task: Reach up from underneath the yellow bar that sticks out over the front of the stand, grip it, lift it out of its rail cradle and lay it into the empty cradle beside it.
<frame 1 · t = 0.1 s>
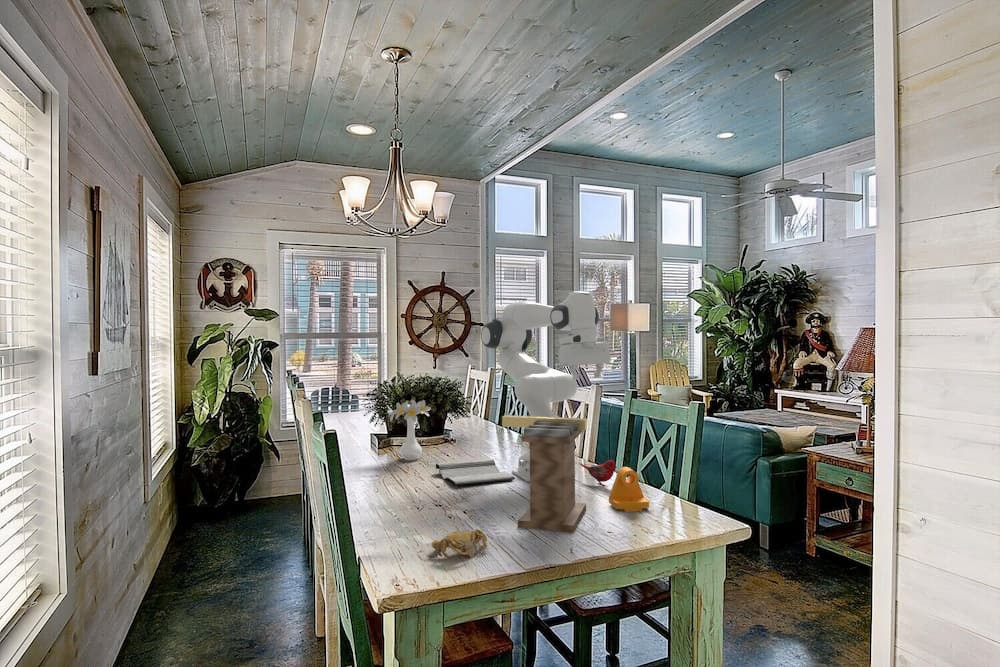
hand: (587, 378, 208), 39 cm above the table, fingers open, 8 cm apart
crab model: (457, 552, 157), on the table
stand: (553, 518, 182), on the table
bracket: (629, 508, 192), on the table
decorative bird figurine: (597, 485, 218), on the table
mat: (474, 478, 230), on the table
flower vase: (409, 459, 260), on the table
yellow bar: (544, 427, 188), point 26 cm above the table, touching stand
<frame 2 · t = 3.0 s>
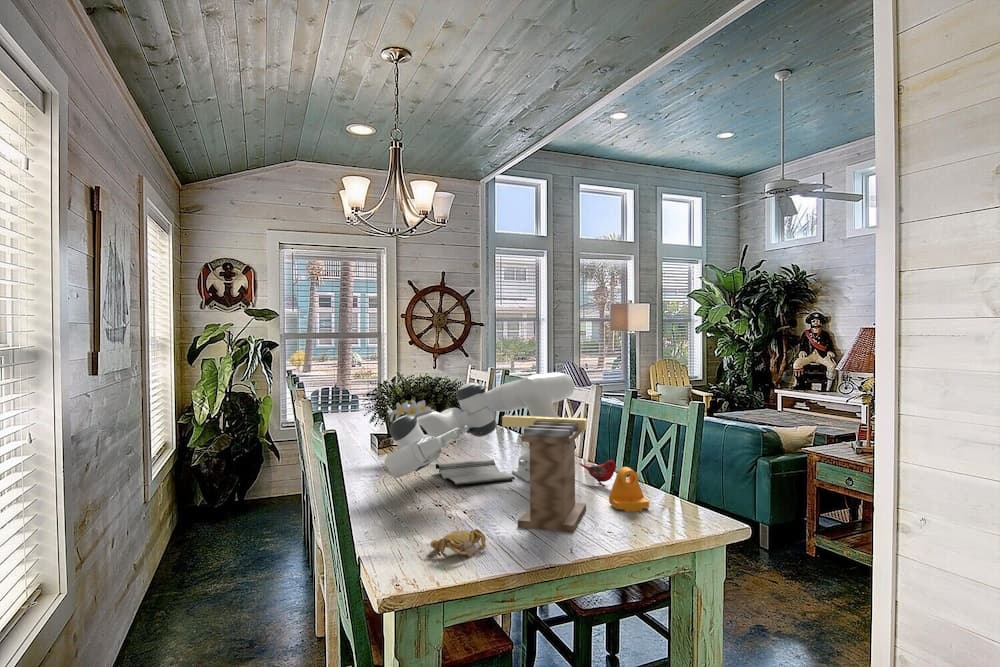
hand: (462, 430, 196), 24 cm above the table, fingers open, 8 cm apart
nothing on the table moved.
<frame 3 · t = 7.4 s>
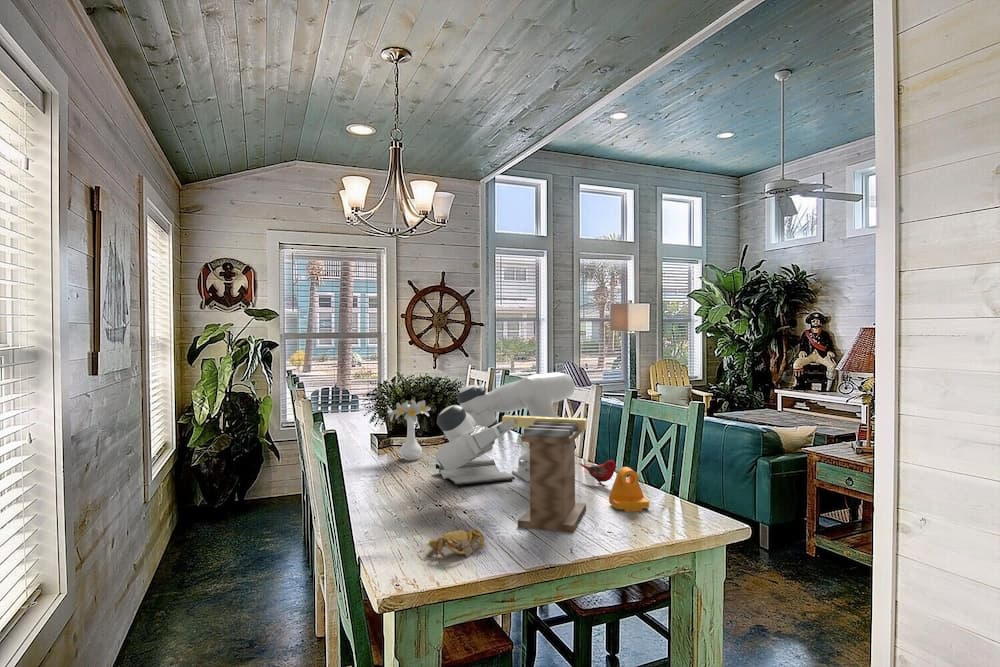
hand: (516, 419, 191), 28 cm above the table, fingers closed on yellow bar, 3 cm apart
yellow bar: (544, 427, 188), point 26 cm above the table, touching gripper
when the fingers open (29 cm above the table, at t = 13.3 s): yellow bar drops 1 cm, resting on stand.
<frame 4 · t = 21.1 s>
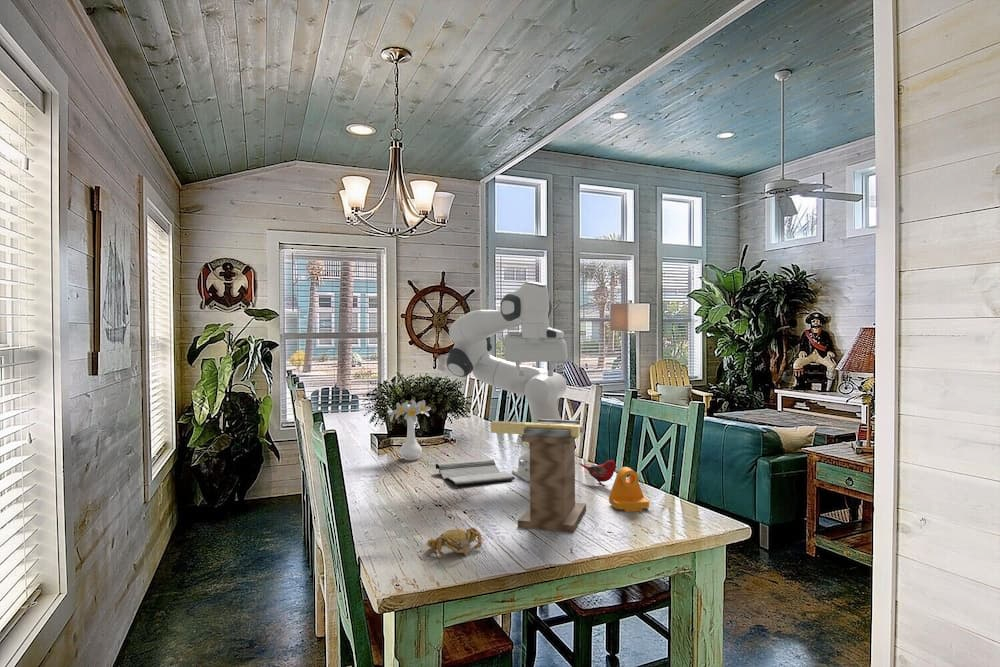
hand: (535, 375, 195), 41 cm above the table, fingers open, 8 cm apart
yellow bar: (534, 433, 178), point 26 cm above the table, touching stand
at the end: yellow bar 0.1 cm from the target spot on the stand, point 26.0 cm above the stand's base; yellow bar tilted 0°; the gripper is holding nothing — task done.
